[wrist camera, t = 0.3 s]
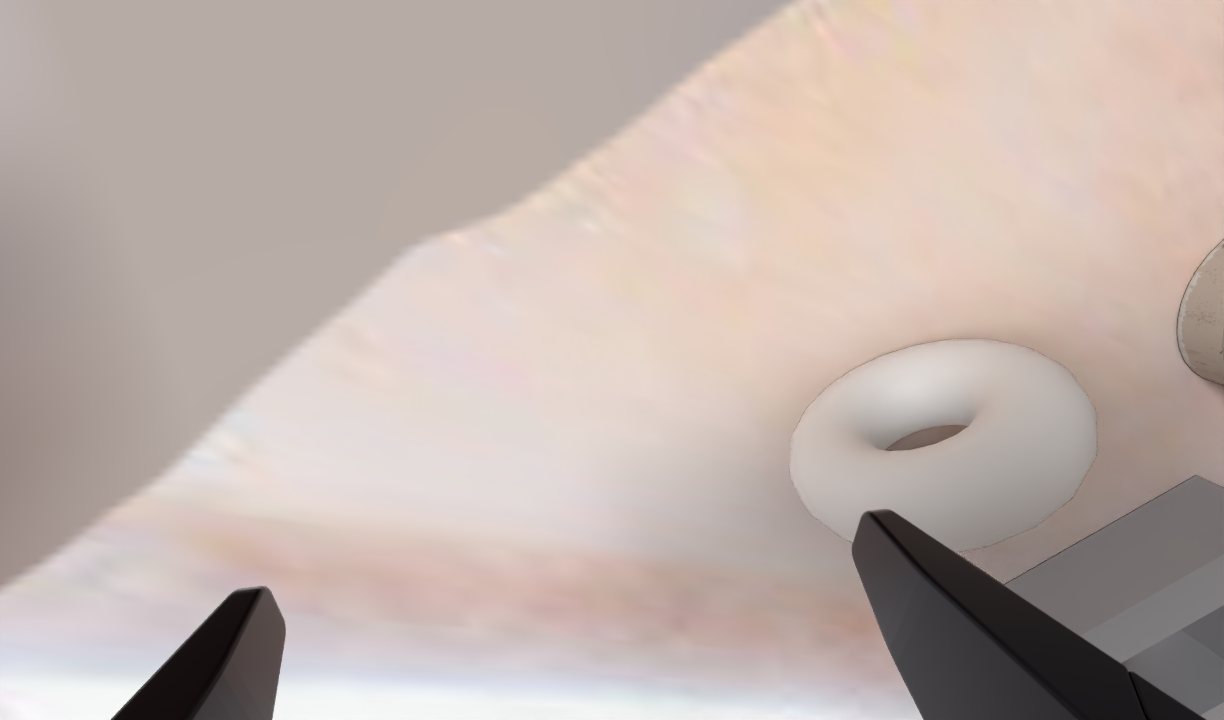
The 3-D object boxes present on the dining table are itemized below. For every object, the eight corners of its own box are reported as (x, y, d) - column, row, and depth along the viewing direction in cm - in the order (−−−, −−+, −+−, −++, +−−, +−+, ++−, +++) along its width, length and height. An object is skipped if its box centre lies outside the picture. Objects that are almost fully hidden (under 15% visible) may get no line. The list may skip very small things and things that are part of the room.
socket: (1043, 741, 36) (1105, 808, 32) (983, 596, 32) (1046, 655, 28) (1232, 634, 36) (1317, 690, 32) (1196, 475, 32) (1288, 517, 28)
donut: (940, 297, 26) (1180, 372, 17) (964, 362, 28) (1200, 467, 18) (737, 415, 27) (861, 555, 17) (769, 476, 28) (902, 637, 18)
